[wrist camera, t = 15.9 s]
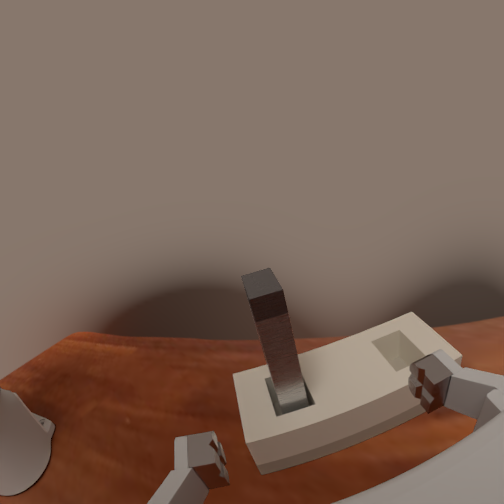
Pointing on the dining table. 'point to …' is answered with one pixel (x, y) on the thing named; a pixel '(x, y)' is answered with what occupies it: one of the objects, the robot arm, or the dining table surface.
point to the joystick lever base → (338, 394)
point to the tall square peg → (276, 338)
